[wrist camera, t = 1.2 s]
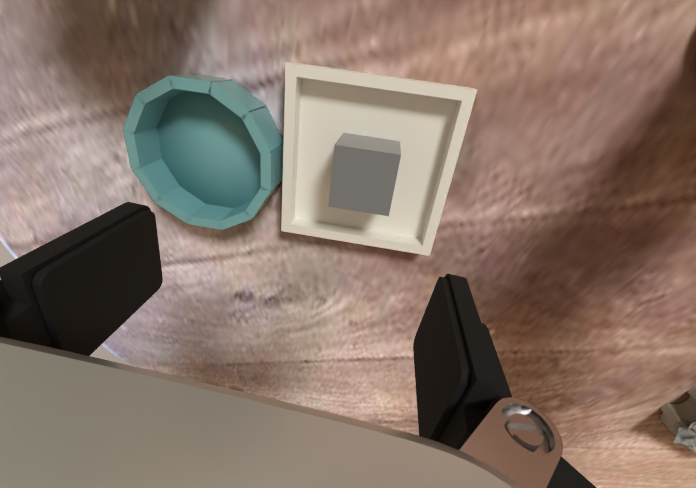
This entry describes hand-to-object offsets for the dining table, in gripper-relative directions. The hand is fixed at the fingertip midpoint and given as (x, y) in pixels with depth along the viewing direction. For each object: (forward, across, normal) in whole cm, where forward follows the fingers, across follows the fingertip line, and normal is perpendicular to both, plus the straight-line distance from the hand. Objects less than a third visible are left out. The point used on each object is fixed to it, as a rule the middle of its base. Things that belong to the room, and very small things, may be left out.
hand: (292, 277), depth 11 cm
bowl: (+19, +12, +3) cm, 22 cm away
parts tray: (+19, -1, +1) cm, 19 cm away
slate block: (+18, -1, +1) cm, 18 cm away
